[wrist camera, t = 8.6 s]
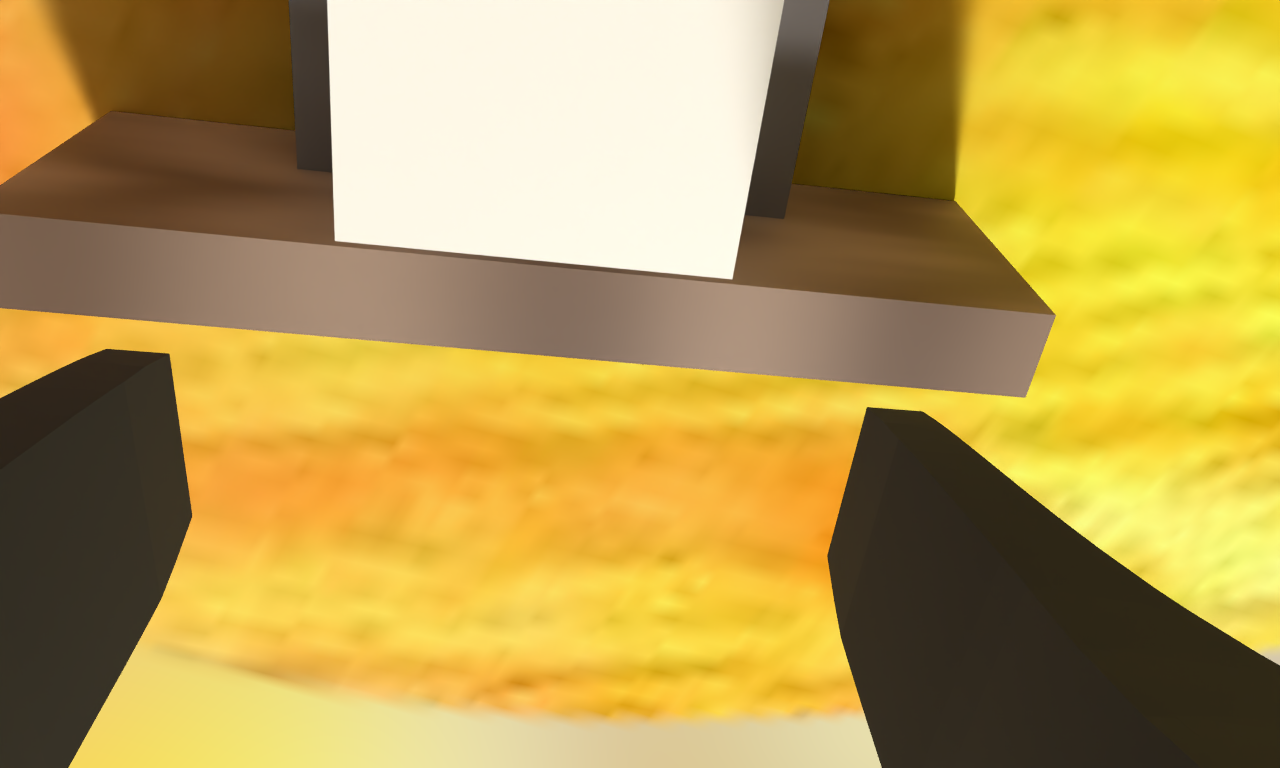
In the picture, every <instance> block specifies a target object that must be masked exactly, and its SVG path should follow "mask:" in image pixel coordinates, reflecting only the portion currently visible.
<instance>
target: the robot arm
mask: <svg viewBox="0 0 1280 768" xmlns="http://www.w3.org/2000/svg"><path fill="white" fill-rule="evenodd" d="M191 518H192V511H191V504H190V496H189V489H188V482H187V475H186V468H185V461H184V454H183V447H182V440H181V433H180V426H179V419H178V412H177V404H176V397H175V390H174V383H173V376H172V369H171V362H170V355H169V354H166V353H153V352H140V351H127V350H114V349H105V350H102V351H100V352H97V353H95V354H92V355H89V356H87V357H85V358H82V359H80V360H78V361H75V362H73V363H71V364H69V365H67V366H65V367H62V368H60V369H58V370H56V371H54V372H52V373H50V374H48V375H46V376H44V377H42V378H40V379H38V380H36V381H34V382H32V383H30V384H28V385H26V386H24V387H22V388H20V389H18V390H16V391H14V392H12V393H10V394H8V395H6V396H4V397H2V398H0V768H68V767H69V765H70V763H71V762H72V760H73V758H74V756H75V755H76V753H77V751H78V749H79V748H80V746H81V744H82V742H83V740H84V738H85V737H86V735H87V733H88V731H89V729H90V728H91V726H92V724H93V722H94V720H95V719H96V717H97V715H98V713H99V712H100V710H101V708H102V706H103V705H104V703H105V701H106V699H107V697H108V696H109V694H110V692H111V690H112V688H113V687H114V685H115V683H116V681H117V679H118V677H119V676H120V674H121V672H122V671H123V669H124V667H125V665H126V663H127V661H128V660H129V658H130V656H131V654H132V652H133V650H134V649H135V647H136V645H137V643H138V641H139V639H140V638H141V636H142V634H143V632H144V630H145V628H146V627H147V625H148V623H149V621H150V619H151V617H152V615H153V614H154V612H155V610H156V608H157V606H158V604H159V602H160V600H161V598H162V596H163V593H164V591H165V588H166V585H167V583H168V580H169V578H170V575H171V573H172V570H173V568H174V565H175V563H176V560H177V557H178V554H179V552H180V549H181V546H182V543H183V540H184V538H185V535H186V532H187V529H188V527H189V524H190V521H191ZM827 556H828V563H829V569H830V576H831V583H832V589H833V596H834V602H835V607H836V613H837V618H838V624H839V629H840V635H841V639H842V642H843V646H844V649H845V652H846V656H847V659H848V662H849V665H850V669H851V672H852V675H853V678H854V682H855V685H856V688H857V691H858V694H859V698H860V701H861V704H862V707H863V710H864V713H865V717H866V720H867V723H868V726H869V729H870V732H871V735H872V738H873V741H874V745H875V747H876V751H877V754H878V757H879V760H880V763H881V766H882V768H1280V665H1278V664H1276V663H1274V662H1273V661H1271V660H1269V659H1267V658H1265V657H1264V656H1262V655H1260V654H1259V653H1257V652H1255V651H1254V650H1252V649H1250V648H1249V647H1247V646H1245V645H1244V644H1242V643H1241V642H1239V641H1237V640H1236V639H1234V638H1232V637H1231V636H1229V635H1228V634H1226V633H1224V632H1223V631H1221V630H1219V629H1218V628H1216V627H1215V626H1213V625H1211V624H1210V623H1208V622H1206V621H1205V620H1203V619H1202V618H1200V617H1198V616H1197V615H1195V614H1193V613H1192V612H1190V611H1189V610H1187V609H1186V608H1184V607H1182V606H1181V605H1179V604H1178V603H1176V602H1175V601H1173V600H1172V599H1170V598H1169V597H1167V596H1166V595H1164V594H1163V593H1161V592H1160V591H1158V590H1157V589H1155V588H1154V587H1152V586H1151V585H1150V584H1148V583H1147V582H1145V581H1144V580H1143V579H1141V578H1140V577H1138V576H1137V575H1136V574H1134V573H1133V572H1131V571H1130V570H1129V569H1127V568H1126V567H1124V566H1123V565H1122V564H1120V563H1119V562H1117V561H1116V560H1115V559H1113V558H1112V557H1110V556H1109V555H1108V554H1106V553H1105V552H1103V551H1102V550H1100V549H1099V548H1098V547H1096V546H1095V545H1094V544H1092V543H1091V542H1090V541H1089V540H1087V539H1086V538H1085V537H1083V536H1082V535H1081V534H1079V533H1078V532H1077V531H1075V530H1074V529H1073V528H1071V527H1070V526H1069V525H1067V524H1066V523H1065V522H1064V521H1062V520H1061V519H1060V518H1058V517H1057V516H1056V515H1055V514H1053V513H1052V512H1051V511H1049V510H1048V509H1047V508H1046V507H1044V506H1043V505H1042V504H1041V503H1039V502H1038V501H1037V500H1036V499H1034V498H1033V497H1032V496H1030V495H1029V494H1028V493H1027V492H1026V491H1024V490H1023V489H1022V488H1021V487H1019V486H1018V485H1017V484H1016V483H1014V482H1013V481H1012V480H1011V479H1009V478H1008V477H1007V476H1006V475H1004V474H1003V473H1002V472H1001V471H1000V470H998V469H997V468H996V467H995V466H993V465H992V464H991V463H990V462H988V461H987V460H986V459H985V458H984V457H982V456H981V455H980V454H979V453H977V452H976V451H975V450H974V449H972V448H971V447H970V446H969V445H967V444H966V443H965V442H964V441H962V440H961V439H960V438H959V437H957V436H956V435H955V434H953V433H952V432H951V431H950V430H948V429H947V428H946V427H944V426H943V425H942V424H940V423H939V422H937V421H936V420H935V419H933V418H932V417H930V416H929V415H927V414H926V413H924V412H922V411H909V410H896V409H883V408H870V407H867V409H866V413H865V417H864V421H863V424H862V428H861V432H860V436H859V439H858V443H857V447H856V451H855V454H854V458H853V462H852V466H851V469H850V473H849V477H848V481H847V484H846V488H845V492H844V496H843V499H842V503H841V507H840V510H839V514H838V518H837V522H836V525H835V529H834V533H833V537H832V540H831V544H830V548H829V552H828V555H827Z"/></svg>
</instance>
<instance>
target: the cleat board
mask: <svg viewBox="0 0 1280 768" xmlns="http://www.w3.org/2000/svg"><path fill="white" fill-rule="evenodd" d="M829 1H830V0H784V5H783V10H782V15H781V21H780V26H779V31H778V37H777V42H776V48H775V53H774V58H773V64H772V69H771V74H770V80H769V85H768V90H767V96H766V101H765V107H764V112H763V117H762V123H761V128H760V133H759V139H758V144H757V149H756V155H755V160H754V166H753V171H752V176H751V182H750V187H749V192H748V198H747V203H746V208H745V214H744V219H743V225H742V230H741V235H740V241H739V246H738V251H737V257H736V262H735V267H734V273H733V278H732V279H724V278H713V277H703V276H692V275H682V274H672V273H661V272H651V271H641V270H630V269H620V268H610V267H599V266H589V265H579V264H568V263H558V262H548V261H537V260H527V259H517V258H506V257H496V256H486V255H475V254H465V253H454V252H444V251H434V250H423V249H413V248H403V247H392V246H382V245H372V244H361V243H351V242H341V241H335V231H334V199H333V168H332V136H331V105H330V73H329V42H328V11H327V0H289V17H290V36H291V56H292V76H293V96H294V116H295V131H294V130H284V129H275V128H266V127H256V126H247V125H237V124H228V123H219V122H209V121H200V120H191V119H181V118H172V117H162V116H153V115H144V114H134V113H125V112H116V111H110V112H109V113H107V114H106V115H104V116H103V117H101V118H100V119H98V120H97V121H95V122H94V123H92V124H91V125H89V126H88V127H86V128H85V129H83V130H82V131H80V132H79V133H77V134H76V135H74V136H73V137H71V138H70V139H68V140H67V141H65V142H64V143H62V144H61V145H59V146H58V147H57V148H55V149H54V150H52V151H51V152H49V153H48V154H46V155H45V156H43V157H42V158H40V159H39V160H37V161H36V162H34V163H33V164H31V165H30V166H28V167H27V168H25V169H24V170H22V171H21V172H19V173H18V174H16V175H15V176H13V177H12V178H10V179H9V180H7V181H6V182H4V183H3V184H1V185H0V308H6V309H18V310H29V311H41V312H52V313H64V314H75V315H86V316H98V317H109V318H121V319H132V320H144V321H155V322H167V323H178V324H189V325H201V326H212V327H224V328H235V329H247V330H258V331H270V332H281V333H292V334H304V335H315V336H327V337H338V338H350V339H361V340H373V341H384V342H395V343H407V344H418V345H430V346H441V347H453V348H464V349H475V350H487V351H498V352H510V353H521V354H533V355H544V356H556V357H567V358H578V359H590V360H601V361H613V362H624V363H636V364H647V365H659V366H670V367H681V368H693V369H704V370H716V371H727V372H739V373H750V374H762V375H773V376H784V377H796V378H807V379H819V380H830V381H842V382H853V383H865V384H876V385H887V386H899V387H910V388H922V389H933V390H945V391H956V392H968V393H979V394H990V395H1002V396H1013V397H1026V394H1027V392H1028V389H1029V386H1030V384H1031V381H1032V378H1033V375H1034V373H1035V370H1036V367H1037V365H1038V362H1039V359H1040V357H1041V354H1042V351H1043V349H1044V346H1045V343H1046V341H1047V338H1048V335H1049V332H1050V330H1051V327H1052V324H1053V322H1054V319H1055V316H1056V315H1055V314H1054V313H1053V311H1052V310H1051V309H1050V308H1049V307H1048V306H1047V305H1046V304H1045V302H1044V301H1043V300H1042V299H1041V298H1040V297H1039V296H1038V294H1037V293H1036V292H1035V291H1034V290H1033V289H1032V288H1031V287H1030V285H1029V284H1028V283H1027V282H1026V281H1025V280H1024V279H1023V277H1022V276H1021V275H1020V274H1019V273H1018V272H1017V271H1016V269H1015V268H1014V267H1013V266H1012V265H1011V264H1010V263H1009V262H1008V260H1007V259H1006V258H1005V257H1004V256H1003V255H1002V254H1001V252H1000V251H999V250H998V249H997V248H996V247H995V246H994V244H993V243H992V242H991V241H990V240H989V239H988V238H987V237H986V235H985V234H984V233H983V232H982V231H981V230H980V229H979V227H978V226H977V225H976V224H975V223H974V222H973V221H972V220H971V218H970V217H969V216H968V215H967V214H966V213H965V212H964V210H963V209H962V208H961V207H960V206H959V205H958V204H957V202H956V201H949V200H940V199H930V198H921V197H912V196H902V195H893V194H884V193H874V192H865V191H856V190H846V189H837V188H827V187H818V186H809V185H799V184H792V179H793V174H794V169H795V164H796V160H797V155H798V150H799V145H800V140H801V135H802V131H803V126H804V121H805V116H806V111H807V107H808V102H809V97H810V92H811V87H812V83H813V78H814V73H815V68H816V63H817V58H818V54H819V49H820V44H821V39H822V34H823V30H824V25H825V20H826V15H827V10H828V6H829Z"/></svg>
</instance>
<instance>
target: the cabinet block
mask: <svg viewBox="0 0 1280 768" xmlns="http://www.w3.org/2000/svg"><path fill="white" fill-rule="evenodd" d="M783 5H784V0H327V11H328V42H329V73H330V105H331V136H332V168H333V199H334V231H335V241H341V242H351V243H361V244H372V245H382V246H392V247H403V248H413V249H423V250H434V251H444V252H454V253H465V254H475V255H486V256H496V257H506V258H517V259H527V260H537V261H548V262H558V263H568V264H579V265H589V266H599V267H610V268H620V269H630V270H641V271H651V272H661V273H672V274H682V275H692V276H703V277H713V278H724V279H732V278H733V273H734V267H735V262H736V257H737V251H738V246H739V241H740V235H741V230H742V225H743V219H744V214H745V208H746V203H747V198H748V192H749V187H750V182H751V176H752V171H753V166H754V160H755V155H756V149H757V144H758V139H759V133H760V128H761V123H762V117H763V112H764V107H765V101H766V96H767V90H768V85H769V80H770V74H771V69H772V64H773V58H774V53H775V48H776V42H777V37H778V31H779V26H780V21H781V15H782V10H783Z"/></svg>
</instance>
